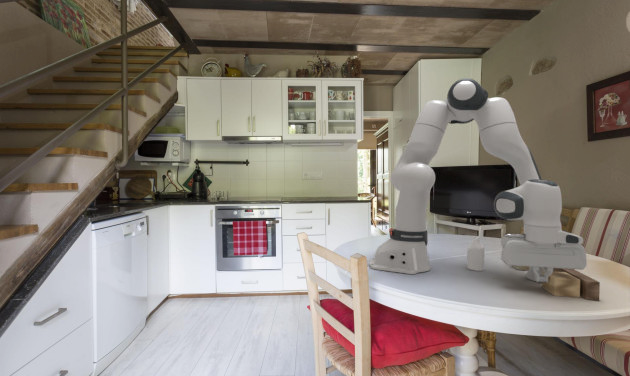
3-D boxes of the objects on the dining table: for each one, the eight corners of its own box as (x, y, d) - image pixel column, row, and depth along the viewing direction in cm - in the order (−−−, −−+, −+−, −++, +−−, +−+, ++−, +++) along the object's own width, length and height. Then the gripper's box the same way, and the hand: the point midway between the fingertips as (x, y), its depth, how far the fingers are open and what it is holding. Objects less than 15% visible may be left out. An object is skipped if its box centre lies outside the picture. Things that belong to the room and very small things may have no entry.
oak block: (554, 295, 83) (554, 278, 83) (542, 286, 90) (542, 270, 89) (579, 297, 81) (580, 279, 81) (565, 288, 88) (565, 272, 88)
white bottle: (464, 234, 112) (480, 235, 111) (464, 266, 112) (480, 266, 111) (471, 237, 106) (487, 238, 105) (470, 270, 106) (487, 271, 105)
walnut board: (585, 299, 80) (586, 281, 80) (549, 276, 99) (549, 261, 99) (599, 300, 79) (599, 282, 79) (560, 277, 98) (560, 262, 98)
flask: (559, 282, 94) (559, 251, 94) (542, 284, 92) (543, 252, 91) (536, 275, 101) (536, 246, 100) (520, 277, 99) (520, 247, 98)
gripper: (505, 235, 86) (504, 282, 86) (590, 238, 80) (589, 288, 81) (498, 231, 92) (497, 275, 92) (577, 234, 86) (576, 281, 87)
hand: (541, 281), depth 86 cm, fingers closed
